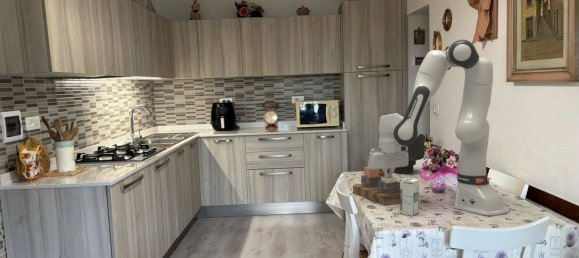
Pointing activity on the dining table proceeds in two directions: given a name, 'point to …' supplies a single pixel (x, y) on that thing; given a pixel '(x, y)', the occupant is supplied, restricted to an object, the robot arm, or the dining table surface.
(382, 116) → the robot arm
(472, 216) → the dining table surface
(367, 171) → the reddish orange cube
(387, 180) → the white cube
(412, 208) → the syrup box
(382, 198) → the button board
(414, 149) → the black device with handle
